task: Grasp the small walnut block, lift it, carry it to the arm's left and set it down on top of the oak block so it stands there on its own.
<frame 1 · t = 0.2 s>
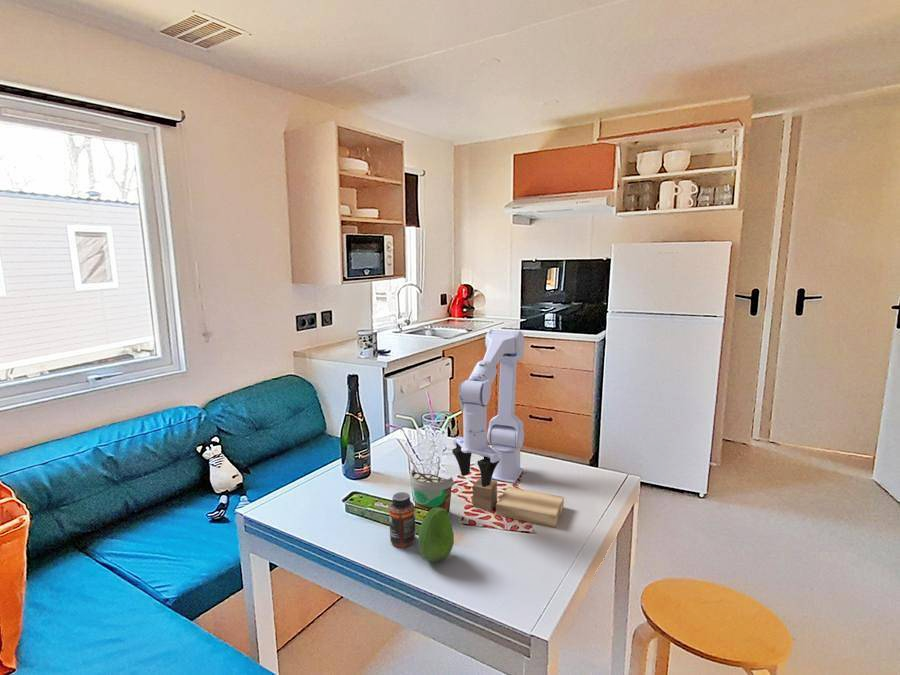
hand: (475, 479, 123), 10 cm above the table, fingers open, 7 cm apart
supplement bottle: (403, 541, 115), on the table
avocado: (436, 559, 109), on the table
food container: (427, 514, 127), on the table
oak block: (530, 511, 127), on the table
walnut block: (485, 504, 131), on the table
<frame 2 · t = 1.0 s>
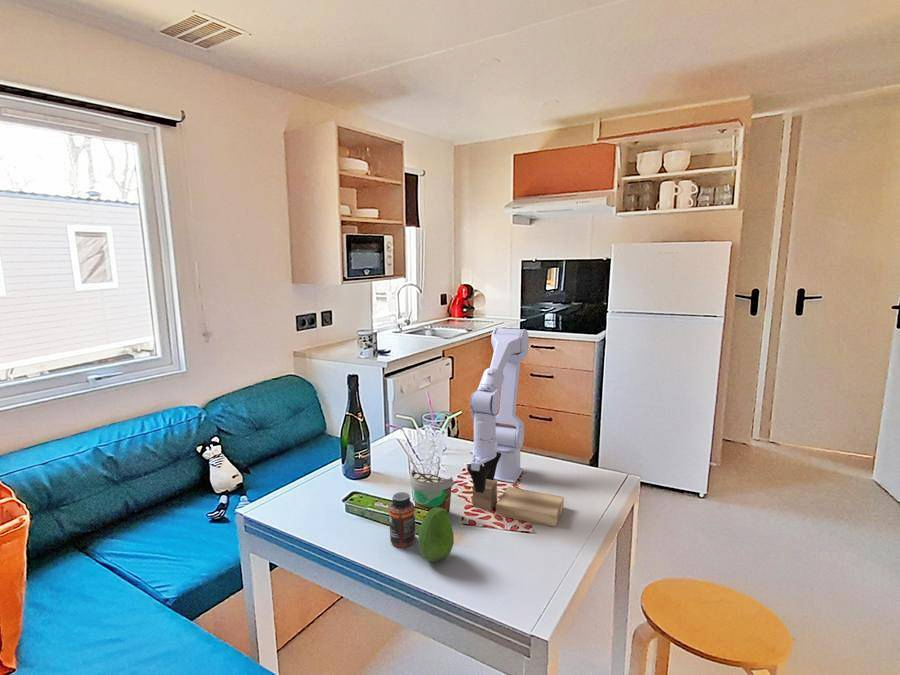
hand: (484, 485, 130), 5 cm above the table, fingers open, 7 cm apart
nothing on the table moved.
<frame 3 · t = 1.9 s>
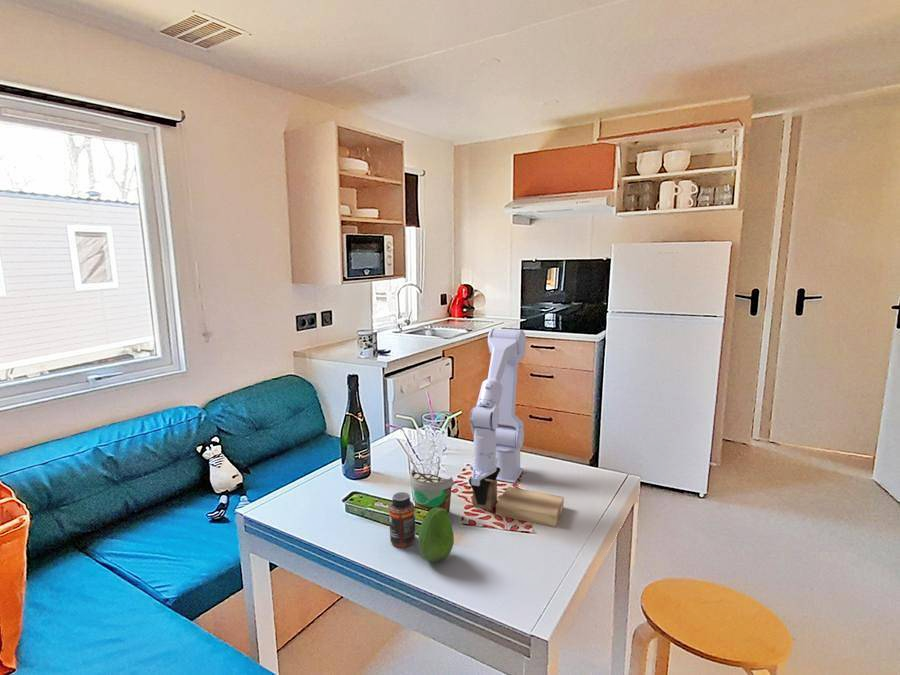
hand: (485, 499, 131), 1 cm above the table, fingers closed on walnut block, 5 cm apart
walnut block: (485, 504, 131), on the table, touching gripper
everything else where it was.
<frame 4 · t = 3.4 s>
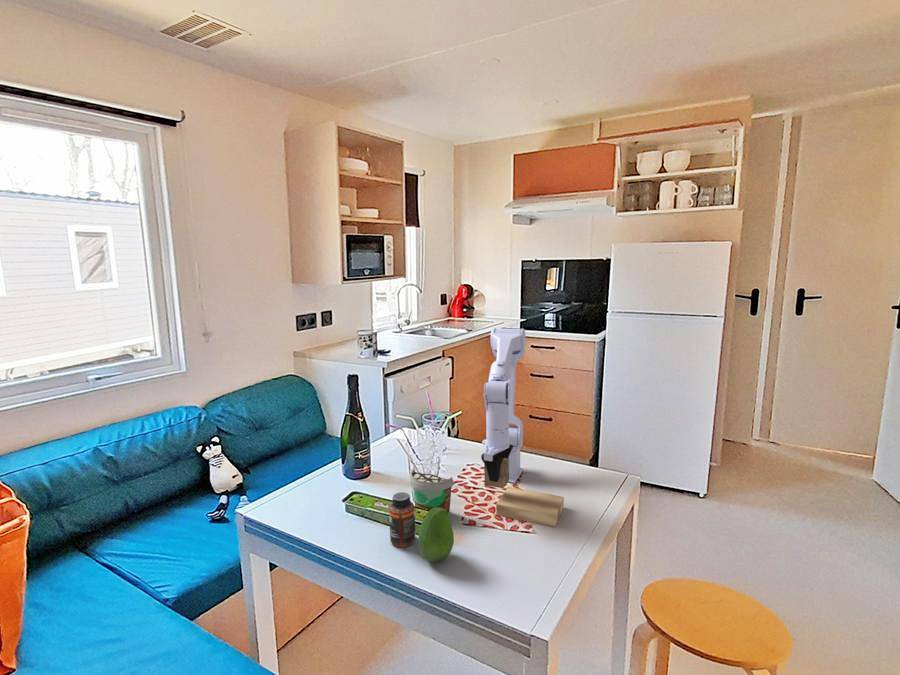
hand: (497, 476, 128), 8 cm above the table, fingers closed on walnut block, 5 cm apart
walnut block: (496, 482, 129), point 7 cm above the table, touching gripper
everything else where it was.
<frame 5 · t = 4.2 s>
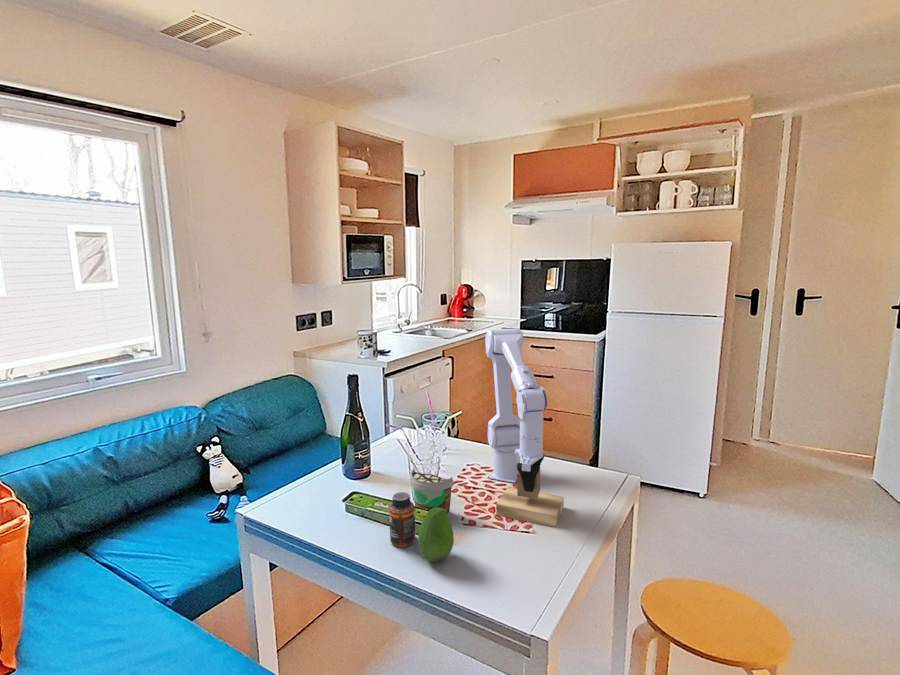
hand: (530, 485, 126), 7 cm above the table, fingers closed on walnut block, 5 cm apart
walnut block: (528, 492, 126), point 5 cm above the table, touching gripper
everything else where it was.
when the fingers open (5 cm above the table, at t = 4.9 s): walnut block stays where it is, resting on oak block.
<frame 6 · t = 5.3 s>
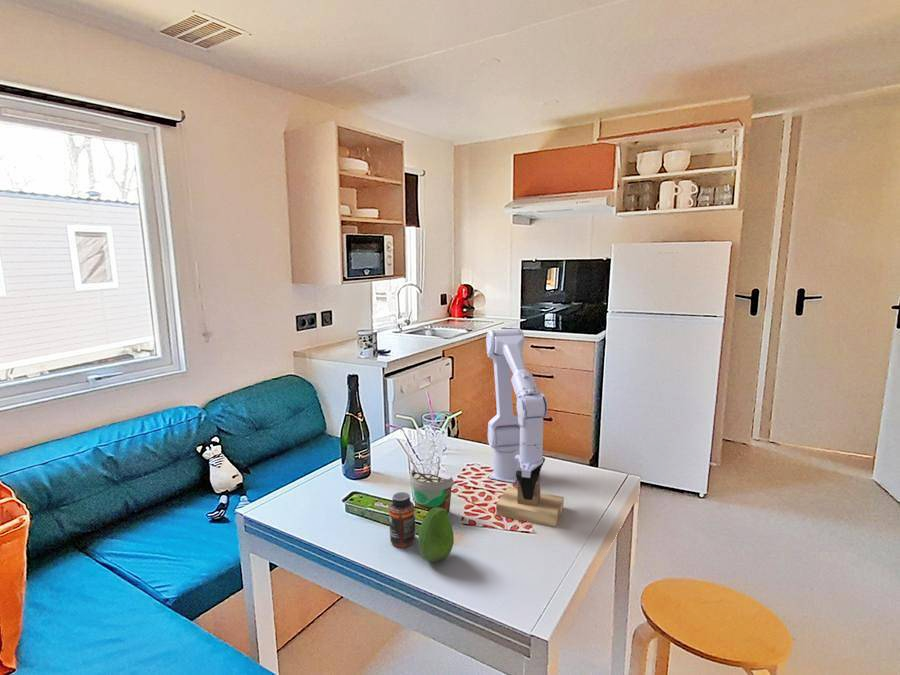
hand: (530, 491, 126), 5 cm above the table, fingers open, 7 cm apart
walnut block: (528, 500, 127), point 3 cm above the table, touching oak block
everything else where it was.
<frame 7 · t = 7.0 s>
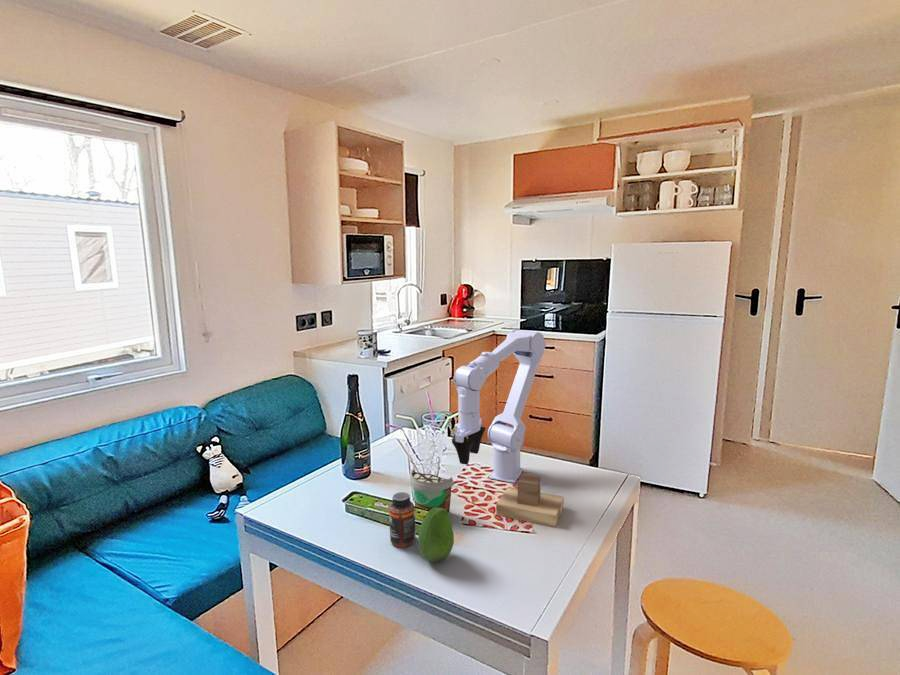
hand: (469, 458, 135), 10 cm above the table, fingers open, 7 cm apart
nothing on the table moved.
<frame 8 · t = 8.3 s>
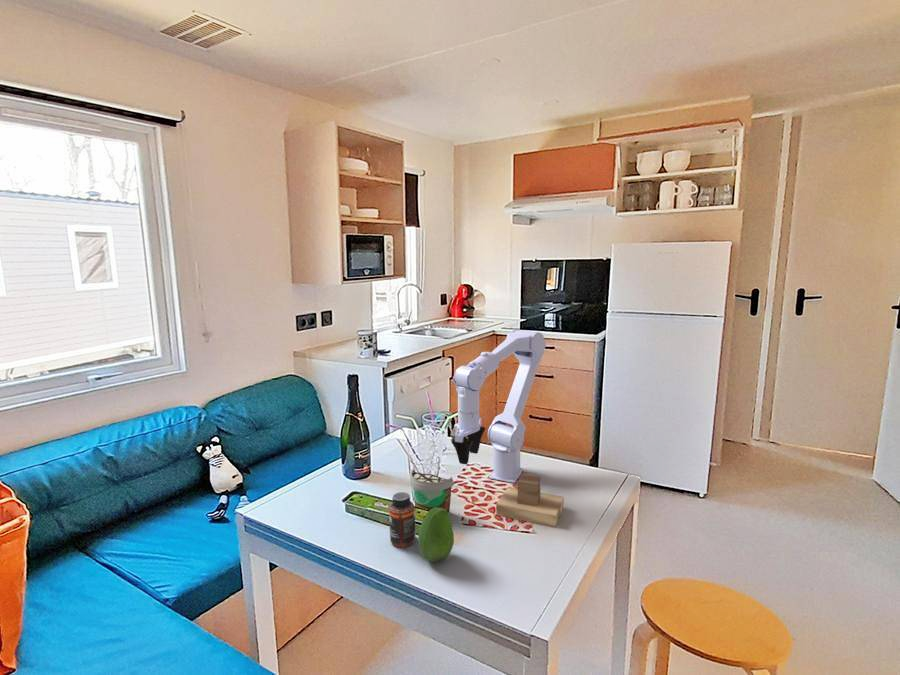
hand: (468, 458, 135), 10 cm above the table, fingers open, 7 cm apart
nothing on the table moved.
at the end: walnut block 0.4 cm from the oak block (horizontally); walnut block point 3.0 cm above the table; walnut block tilted 0° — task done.
